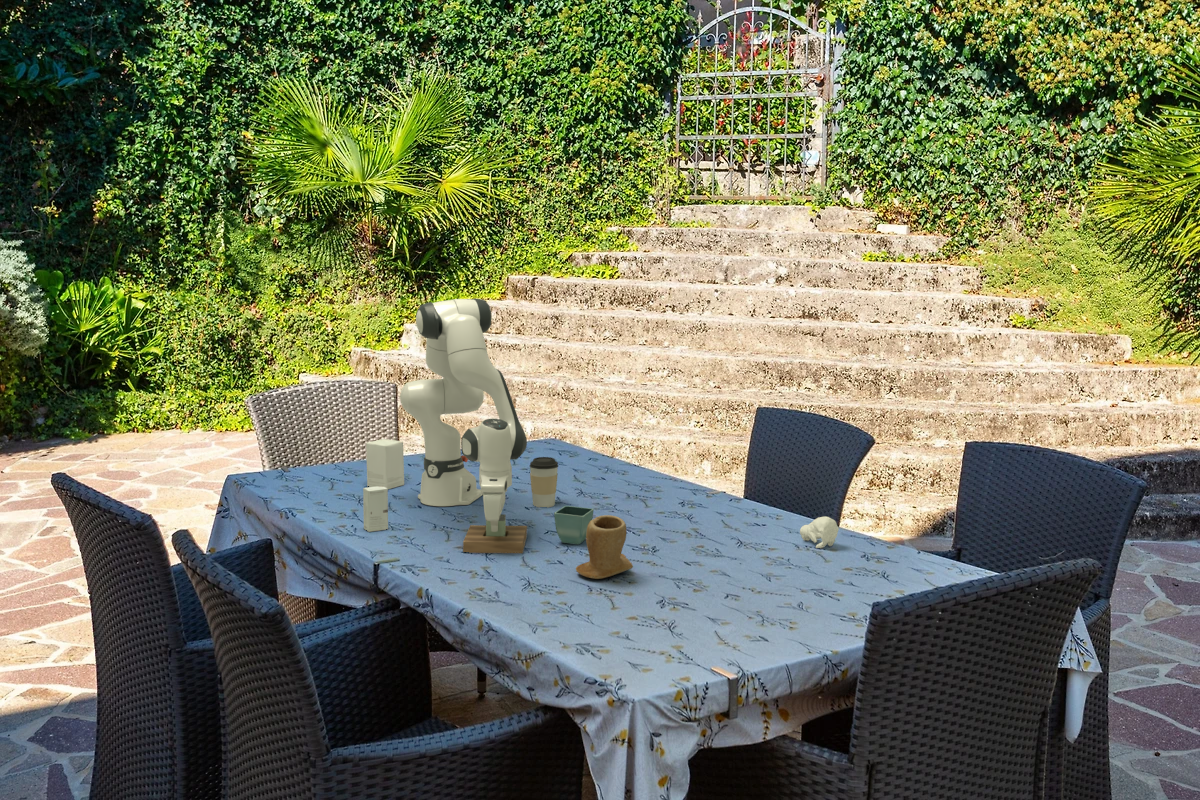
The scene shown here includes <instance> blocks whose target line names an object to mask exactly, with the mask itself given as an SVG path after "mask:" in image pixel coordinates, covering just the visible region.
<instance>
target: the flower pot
mask: <svg viewBox="0 0 1200 800" xmlns="http://www.w3.org/2000/svg"><path fill="white" fill-rule="evenodd" d="M593 517H594V508H590V507H581V506H572V505H564V506H562V507H561V508H560V509H558V510H556V511H555V512H554V523H555V524H554V526H555V531H556V534H557V537H558V538H559V540H560V541H561V543H563V544H571V545H580V544H581V543H583V542H584V541H586V533H587V527H588V524H589V522H590V521H591V520H593V519H594V518H593Z"/></svg>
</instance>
